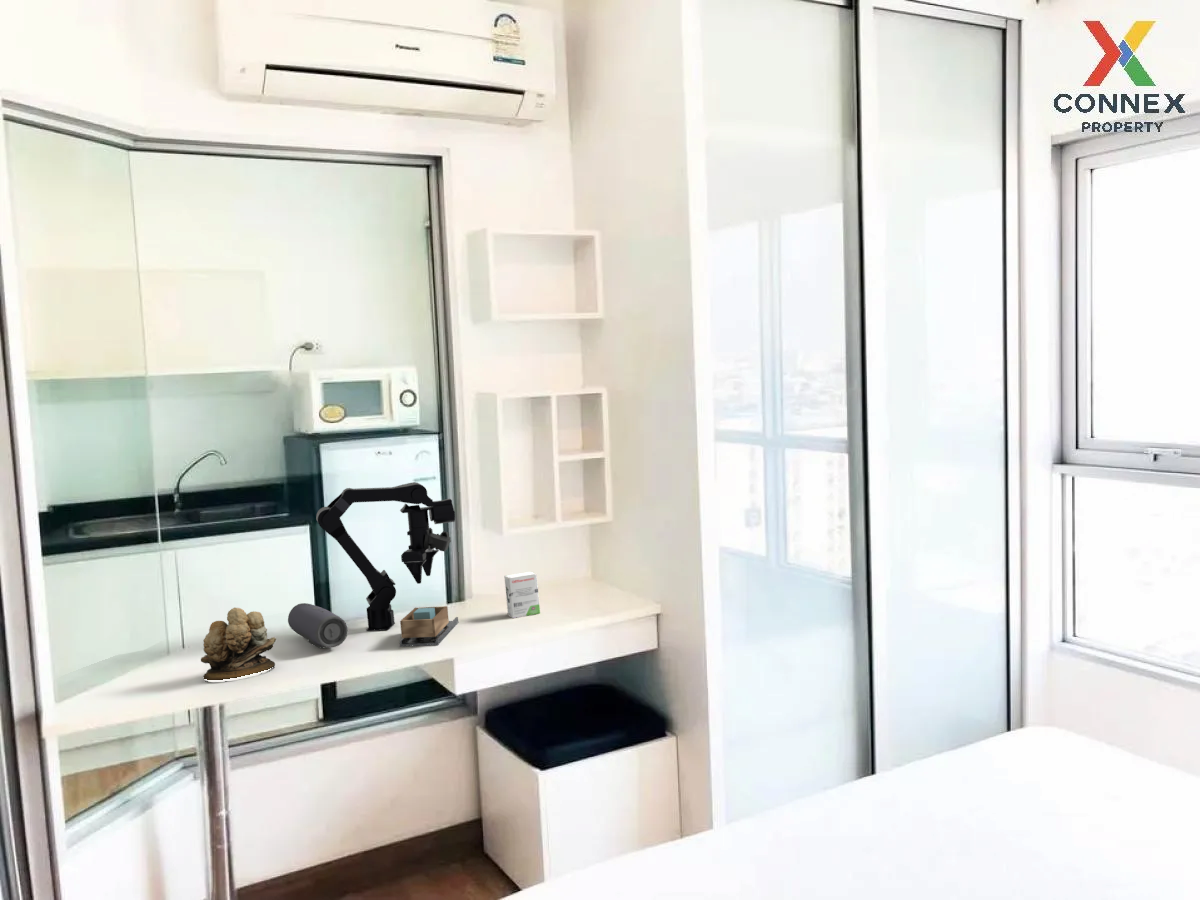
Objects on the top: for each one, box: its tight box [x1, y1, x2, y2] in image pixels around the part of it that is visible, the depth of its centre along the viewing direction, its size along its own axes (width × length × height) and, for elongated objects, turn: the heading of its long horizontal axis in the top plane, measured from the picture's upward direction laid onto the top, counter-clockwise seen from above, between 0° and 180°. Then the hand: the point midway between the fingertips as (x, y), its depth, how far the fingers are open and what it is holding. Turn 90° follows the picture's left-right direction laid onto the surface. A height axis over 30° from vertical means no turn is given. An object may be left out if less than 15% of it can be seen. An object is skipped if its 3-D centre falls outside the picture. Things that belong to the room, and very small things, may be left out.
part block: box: [413, 607, 435, 620], centre depth 261 cm, size 4×4×4 cm
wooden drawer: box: [399, 605, 450, 641], centre depth 261 cm, size 9×13×6 cm
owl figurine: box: [200, 607, 277, 680], centre depth 242 cm, size 18×12×17 cm, turn 117°
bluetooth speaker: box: [287, 602, 349, 649], centre depth 264 cm, size 23×9×10 cm, turn 37°
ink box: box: [504, 571, 541, 619], centre depth 278 cm, size 9×5×12 cm, turn 112°
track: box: [399, 616, 459, 647], centre depth 265 cm, size 10×21×2 cm, turn 174°
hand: (423, 579), depth 279 cm, fingers open, 9 cm apart
